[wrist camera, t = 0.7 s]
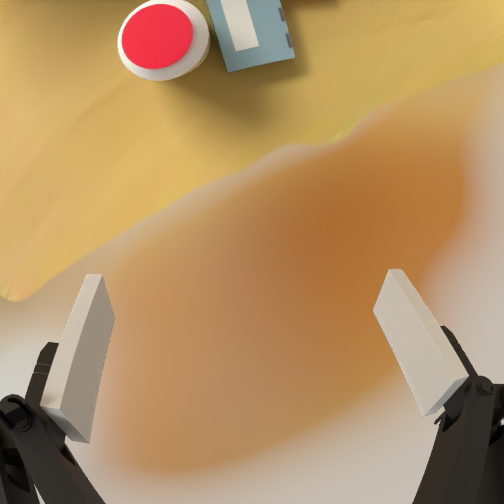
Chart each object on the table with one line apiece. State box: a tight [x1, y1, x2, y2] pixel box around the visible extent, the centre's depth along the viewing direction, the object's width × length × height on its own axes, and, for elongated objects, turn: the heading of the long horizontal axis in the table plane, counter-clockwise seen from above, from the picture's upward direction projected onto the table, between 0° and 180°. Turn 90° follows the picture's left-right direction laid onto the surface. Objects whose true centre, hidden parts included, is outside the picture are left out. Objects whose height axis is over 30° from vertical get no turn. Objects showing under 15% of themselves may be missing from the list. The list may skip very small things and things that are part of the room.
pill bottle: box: [118, 0, 211, 81], centre depth 23 cm, size 8×8×11 cm
